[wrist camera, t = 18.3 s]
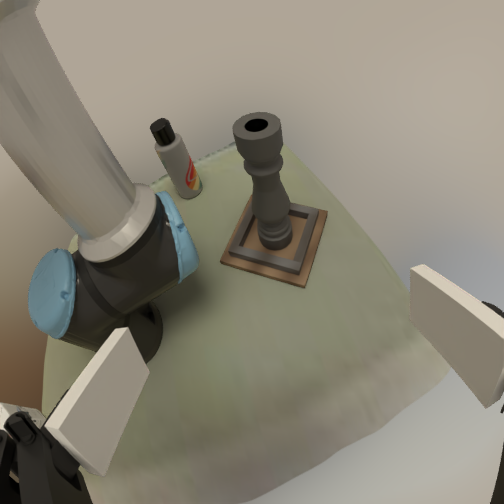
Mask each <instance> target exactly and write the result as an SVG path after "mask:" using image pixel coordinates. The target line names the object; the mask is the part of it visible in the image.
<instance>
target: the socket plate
mask: <svg viewBox="0 0 504 504" xmlns="http://www.w3.org/2000/svg"><path fill="white" fill-rule="evenodd" d="M251 203H252V195H251V197H250V199H249V201H248V203H247V205H246V207H245V209H244V211H243V213H242V215H241V217H240V219H239V221H238V224H237V226H236V228H235V230H234V232H233V234H232V236H231V238H230V240H229V242H228V245H227V247H226V249H225V251H224V253H223V255H222V257H221V259H220V262H221V264H224V265H228V266H231V267H234V268H238V269H241V270H244V271H248V272H251V273H254V274H258V275H261V276H264V277H268V278H271V279H274V280H278V281H281V282H285V283H288V284H292V285H295V286H298V287H302V288H305V286H306V283H307V280H308V277H309V273H310V270H311V267H312V264H313V261H314V258H315V254H316V251H317V248H318V245H319V241H320V238H321V235H322V231H323V228H324V224H325V221H326V217H327V212H328V211H325V210H320V209H316V208H312V207H308V206H303V205H299V204H295V203H290V210H289V213H288V215H289V217H290V220H291V224H292V233H293V237H292V241H291V243H290V244H289V245H288V246H287V247H286V248H284V249H282V250H277V251H273V250H268V249H267V248H265V247H264V246H263V245H262V244H261V242H260V239H259V235H258V231H257V220H258V219H257V218H256V217H255V215H254V214H253V212H252V205H251Z"/></svg>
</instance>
